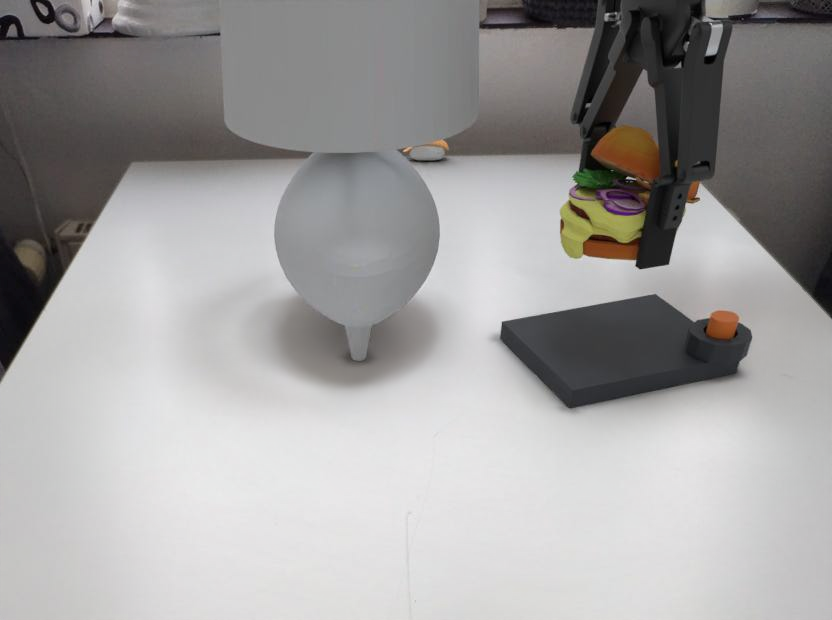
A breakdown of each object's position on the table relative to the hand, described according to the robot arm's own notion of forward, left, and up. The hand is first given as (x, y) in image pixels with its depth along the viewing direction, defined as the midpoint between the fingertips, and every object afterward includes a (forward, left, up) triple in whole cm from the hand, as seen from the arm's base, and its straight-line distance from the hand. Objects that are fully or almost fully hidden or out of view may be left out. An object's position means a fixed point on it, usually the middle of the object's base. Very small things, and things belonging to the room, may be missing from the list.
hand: (618, 242), depth 77 cm
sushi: (-7, -59, -11) cm, 61 cm away
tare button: (-9, +6, -7) cm, 13 cm away
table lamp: (+19, -13, -11) cm, 26 cm away
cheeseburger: (0, 0, 0) cm, 0 cm away
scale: (-2, +1, -10) cm, 11 cm away
